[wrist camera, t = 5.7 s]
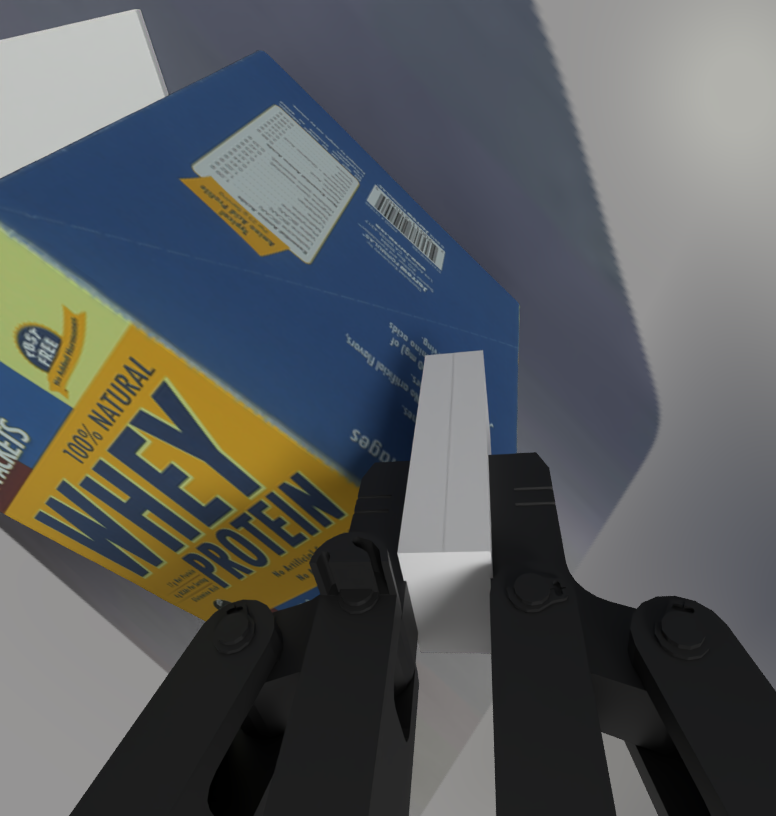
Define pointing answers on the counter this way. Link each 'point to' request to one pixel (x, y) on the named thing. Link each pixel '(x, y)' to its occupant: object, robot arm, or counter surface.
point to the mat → (73, 84)
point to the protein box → (223, 338)
